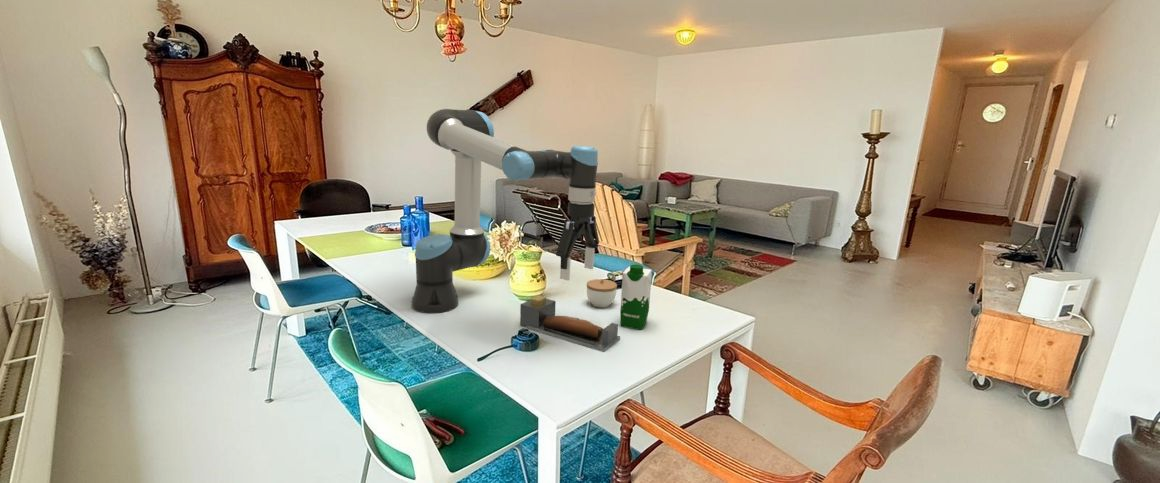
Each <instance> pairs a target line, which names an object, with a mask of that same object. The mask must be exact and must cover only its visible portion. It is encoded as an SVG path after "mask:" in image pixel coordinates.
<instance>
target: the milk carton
mask: <svg viewBox="0 0 1160 483" xmlns="http://www.w3.org/2000/svg"><path fill="white" fill-rule="evenodd" d="M621 281H622V284H621V294H620V295H621V297H620V307H619V308H620V309H619V310H620V311H619V313H620V314H619V315H620V327H622V328H629V329H634V330H639V331H642V330H643V329H644V328H645V326H646V324H647V322H648V321H647V320H648V315H649V311H650V301H651V300H650V299H651V290H652V269H650V268H644V266H643V265H641V264H631V265H630V266H628V267H627V268H626V269H625V270H624V271H623V272H622V280H621Z"/></svg>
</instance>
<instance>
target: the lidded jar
mask: <svg viewBox="0 0 1160 483" xmlns="http://www.w3.org/2000/svg"><path fill="white" fill-rule="evenodd" d="M617 289H618V284H617V283H616V282H615V281H613V280H610V279H603V278H599V279H598V278H597V279H592V280H588V281H587V282H586V295H587V296H586V297H587V299H588V301H589V302H590V303H591V305H592V307H596V308H602V309H604V308H608V307H609V306H610V305H611V304H612V303H613V302H614V300H615V299H616V295H617Z"/></svg>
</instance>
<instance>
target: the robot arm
mask: <svg viewBox="0 0 1160 483" xmlns="http://www.w3.org/2000/svg"><path fill="white" fill-rule="evenodd" d="M426 133H427V136H428V138H429V140H430V141H431V142H432V143H434V144H435V145H437V146H438V147H441V148H443V149H445V150H447V151H448V150H449V151H450V152H451V153H452V154H453V155H454V156H455V157H454V164H455V167H454V225H453V226H452V227H451V228H450V229H449V235H448V234H432V235H428V236H425V237H424V236H423V237H422V238H420V239H419V240H417V242H416V243H415V249H414V250H415V252H414V257H415V274H416V275H415V276H416V286H415V289H414V293H413V296H412V298H411V309H413V310H414V311H416V312H420V313H425V314H436V313H439V314H440V313H444V312H449V311H452V310H453V309H455V308H456V307H458V306H459V296H458V294H457V289H456V288H455V284H454V282H453V280H454V279H453V278H454V277H453V272H457V271H460V270H461V271H462V270H465V269H469V268H474V267H477V266H480V265H482V264H484V263H485V262H486V261H487V260H488V259H489V256H490V254H491V242H490V240H489V237H488V236H487V235H486V234H485V230H484V228H482V227H481V226H480V222H481V219H480V218H481V191H482V190H481V183H482V180H481V178H482V162H483V163H485V164H487V165H489V166H492V167H494V168H497V169H499V170H501V171H502V172H503V174H504V175H505V176H506V178H507V179H509V180H510V181H511V180H512V181H519V182H520V181H526V180H527V181H529V180H536V179H547V178H560V179H567V180H568V196H567V200H568V201H569V202H568V203H567V215H568V216H570V221H566V220H565V221H564V223H563V229H562V233H561V236H560V239H559V243H558V246H557V249H556V253H555V256H557V257H560V265H559V268H560V271H559V272H560V275H559V279H561V280H564V281H570V278H571V277H570V276H571V274H570V273H571V263H572V262H571V260H572V259H571V258H572V257H570V255H571V253H572V251H573V248H574V246H575V244H576V242H577V239H579V238H580V237H581V236H582V237H583V238H584V241H585V244H586V245H587V246H585V251H584V254H585V255H584V265H583V266H584V268H585V269H587V270H593V269H594V265H595V264H594V263H595V251H596V250H595V249H598V248H599V244H600V238H599V234H598V229H597V217H596V216H595V206H596V205H595V203H594V202H595V201H596V195H597V192H596V188H597V184H596V183H597V172H598V164H599V163H598V162H599V161H598V157H599V156H598V155H599V154H598V149H597V148H596V147H594V146H587V145H586V146H584V145H573V146H572V147H571V148H570V151H569V152H568V151H563V150H562V151H561V150H555V149H540V150H526V149H523V148H520V147H518V146H516V145H514V144H510V143H509V142H505V141H503V140H502V139H501V140H500V139H499V138H496V137H495V136H494V135H495V128H494V125H493V123H492V121H491V119H490V118H489V116H488V115H487V114H486V113H484V112H482V111H478V110H473V109H471V110H470V109H451V108H443V109H439V110H437V111H434V112H433V113H432V114H431V115H430V116H429V117H428V120H427V123H426Z"/></svg>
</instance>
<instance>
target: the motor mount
mask: <svg viewBox="0 0 1160 483" xmlns="http://www.w3.org/2000/svg"><path fill="white" fill-rule="evenodd" d="M556 302H557V301H556V300H554V299H549V298H547V296H544V295H543V296H542V295H540V294H538V295H535V296H534V297H532V298H530V299H529V300H527V301H525V302H523V303H520V310H519V312H520V315H519V318H520V323H519V326H520V327H524V328H526V329H527V328H528V329H527V330H530V331H531V330H532V331H535V332H537V333H541V334H545V335H547V336H551V337H553V338H557V339H561V340H564V341H567V342H570V343H574V344H577V345H580V346H583V347H587V348H591V349H593V350H596V351H600V352H607V351H608V349H610V348H611V347H612V346H614V345H615V344H616V343H617V342H619V341H620V340H621V336H620V335H618V334H619V331H618V330H619V324H617V323H614V322H611V323H610V324H608V325H607V326H606V327H604V328H603V330H602V338H601V339H600V340H598V339H597V338H594V337H590V336H586V335H582V334H578V333H573V332H569V331H565V330H558V329H552V328H546V327H545V328H544V327H543V323H544V320H545V319H546V318H547V317H549V316H556Z"/></svg>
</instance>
